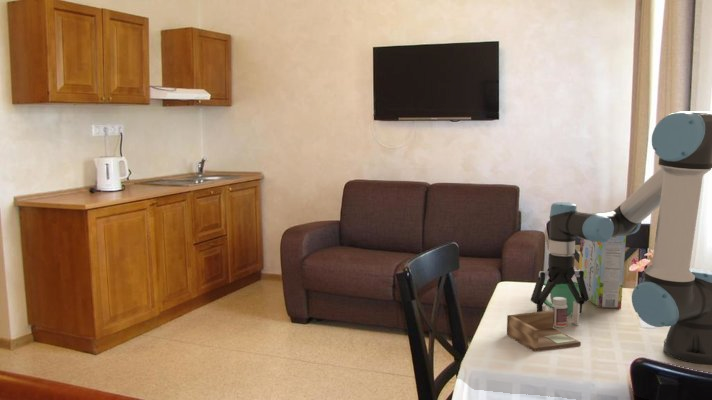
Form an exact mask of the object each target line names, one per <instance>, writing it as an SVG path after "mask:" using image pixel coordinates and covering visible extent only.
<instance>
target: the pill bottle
mask: <svg viewBox="0 0 712 400" xmlns="http://www.w3.org/2000/svg"><path fill="white" fill-rule="evenodd" d="M566 303H567V299H566V298H563V297H554V298H553V304H552V303H551V304H552V305H551V308H550V310H552V311H554V320H553V327H555V328H565V327H567V326H568V316H567V310H568V306H567V305H566Z"/></svg>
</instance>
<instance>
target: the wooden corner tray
mask: <svg viewBox="0 0 712 400" xmlns="http://www.w3.org/2000/svg"><path fill="white" fill-rule="evenodd" d="M506 317H507V318H506V336H507V335H508V337H509V336H510V337H509V338H511V339H512V338H513V339H512V340H514V339H515V340H514V341H516V342H517V341H518V342H517V343H519V344H520V345H523V346H524V347H525V348H527V349H529V350H531V351H533V352H535V353H536V352H541V351H550V350H557V349H563V348H565V349H566V348H572V347H580V346H581V341H580V340H578V339H576V338H574V337H572V336H570V335H568V334H567V333H564V332H562V331H560V330H559V329H556V327H555V328H554V326H553V320H554V311H552V310H551V309H550V310H545V311H541V312H536V311H535V312H534V311H533V312H524V313H515V314H507V316H506Z"/></svg>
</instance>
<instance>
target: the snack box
mask: <svg viewBox="0 0 712 400" xmlns="http://www.w3.org/2000/svg"><path fill="white" fill-rule="evenodd" d="M626 240H627V236H616V237H611V238H610V239H608V240H607V241H606V242H593V241H590V240H586V239H581V238H580V243H579V245H580V247H579V263H578V269H580V270H582V271H584V282H585V286H586V290H587V294H588V297H589V301H590V302H591V303H592V304H594V305H595V306H596V307H598V308H606V309H607V308H609V309H621V308H622V301H623V299H622V298H623V284H624V283H623V282H624V272H625V271H624V270H625V256H626V255H625V254H626V243H627V241H626ZM579 294H580V292H579Z"/></svg>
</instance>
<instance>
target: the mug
mask: <svg viewBox="0 0 712 400" xmlns="http://www.w3.org/2000/svg"><path fill="white" fill-rule="evenodd" d="M573 283H574V285H575V287H576V289H577V291H578V292H580V291H579V287H578V283H577V281H573ZM546 284H547V281H546V280H545V282H544V285H543V286H544V287H545V286H546ZM542 291H543V290H542ZM542 291H541V292H542ZM549 296H550V300H551V302H550V301H548V298H547V299H546V300H545V302H544V305H545V306H547V307H549V308H550V309H551V305H552V304H553V298H554V297H563V298H566V299H567V303H566V305H567V306H568V310H567V317H571V316H572V315H573V302H577V301H576V300H575V298H574V296H573V294H572V292H571V291H570V289H569V287H568V285H567V284H558V285H557V284H556V286H555V287H553V289H552V291H551V292H550V294H549Z"/></svg>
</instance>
